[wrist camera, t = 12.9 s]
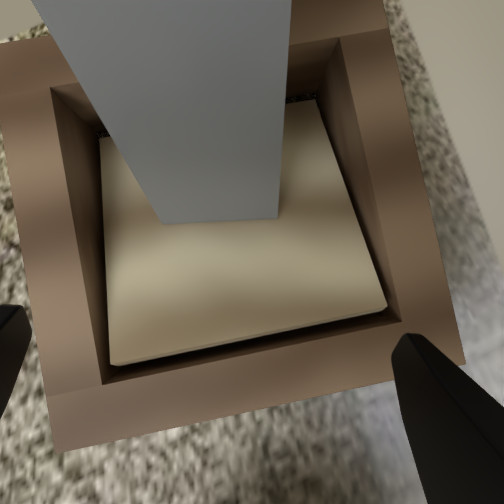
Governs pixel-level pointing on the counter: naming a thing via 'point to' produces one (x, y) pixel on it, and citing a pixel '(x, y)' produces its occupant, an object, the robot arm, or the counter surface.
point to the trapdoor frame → (245, 351)
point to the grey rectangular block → (186, 96)
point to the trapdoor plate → (235, 257)
